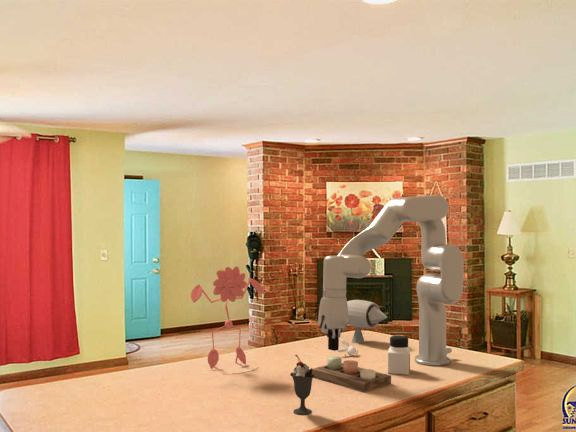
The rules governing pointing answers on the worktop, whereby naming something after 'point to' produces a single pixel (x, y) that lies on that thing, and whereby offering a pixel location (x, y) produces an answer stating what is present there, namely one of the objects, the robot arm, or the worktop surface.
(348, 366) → the peach rounded dome
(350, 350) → the rabbit figurine
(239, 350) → the figurine
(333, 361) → the sage button
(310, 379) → the sundae
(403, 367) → the medicine bottle
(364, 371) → the cream egg
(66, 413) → the worktop surface
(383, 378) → the button board
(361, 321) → the jet engine
